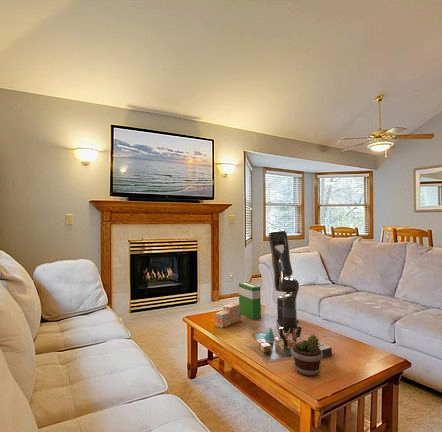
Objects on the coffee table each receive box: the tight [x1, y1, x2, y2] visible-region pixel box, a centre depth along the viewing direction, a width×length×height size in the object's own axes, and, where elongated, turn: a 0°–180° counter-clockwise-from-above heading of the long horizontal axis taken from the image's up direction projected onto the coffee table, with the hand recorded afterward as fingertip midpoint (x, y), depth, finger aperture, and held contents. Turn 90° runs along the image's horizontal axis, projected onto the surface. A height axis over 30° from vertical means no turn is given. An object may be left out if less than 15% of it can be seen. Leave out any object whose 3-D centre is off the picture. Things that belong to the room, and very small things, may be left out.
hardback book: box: [238, 281, 262, 321], centre depth 233 cm, size 18×7×24 cm, turn 26°
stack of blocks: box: [214, 302, 241, 329], centre depth 217 cm, size 21×6×12 cm, turn 136°
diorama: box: [254, 327, 275, 342], centre depth 189 cm, size 12×20×9 cm, turn 25°
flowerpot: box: [290, 333, 324, 377], centre depth 148 cm, size 14×15×20 cm
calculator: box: [297, 340, 333, 358], centre depth 170 cm, size 11×4×15 cm
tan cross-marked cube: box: [287, 338, 297, 348], centre depth 168 cm, size 4×4×3 cm
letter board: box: [251, 336, 294, 361], centre depth 171 cm, size 22×20×4 cm
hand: (290, 345), depth 168 cm, fingers closed on tan cross-marked cube, 4 cm apart
